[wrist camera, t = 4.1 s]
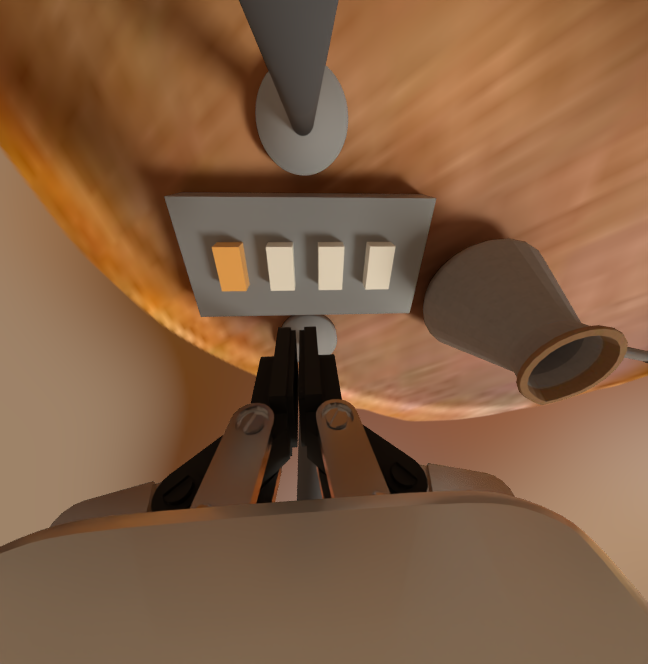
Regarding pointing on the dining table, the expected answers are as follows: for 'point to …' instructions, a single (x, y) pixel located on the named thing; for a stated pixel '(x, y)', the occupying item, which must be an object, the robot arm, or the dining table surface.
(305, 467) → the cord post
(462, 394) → the dining table surface
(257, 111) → the post
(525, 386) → the coffee pot
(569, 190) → the dining table surface
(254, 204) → the breaker strip
